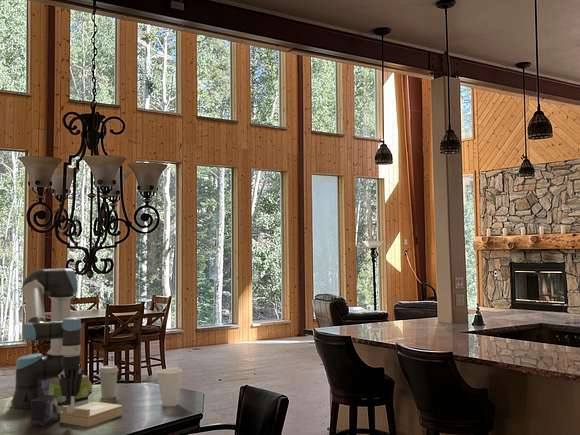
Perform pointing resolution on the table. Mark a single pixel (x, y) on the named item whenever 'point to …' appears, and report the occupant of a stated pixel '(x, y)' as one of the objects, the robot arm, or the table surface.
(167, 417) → the table surface
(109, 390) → the coffee cup
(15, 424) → the table surface
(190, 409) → the table surface
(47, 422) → the small box
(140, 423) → the table surface
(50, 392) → the tea box
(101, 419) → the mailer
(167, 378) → the cup
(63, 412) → the lid
